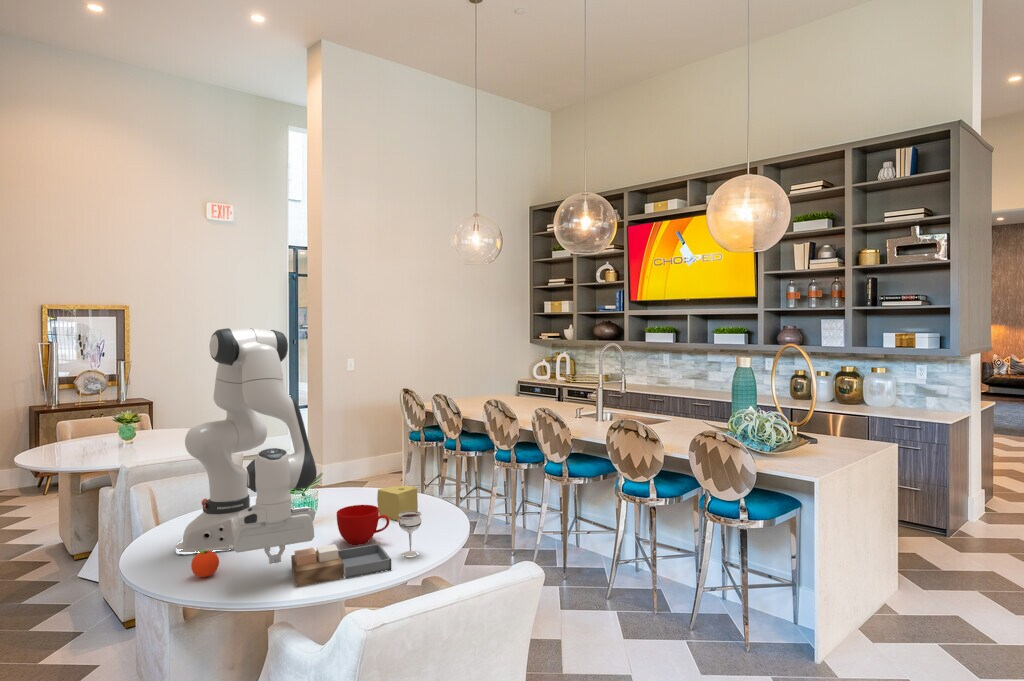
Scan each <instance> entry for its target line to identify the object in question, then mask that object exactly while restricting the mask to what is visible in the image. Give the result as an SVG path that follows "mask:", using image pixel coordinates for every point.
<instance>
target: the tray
mask: <svg viewBox="0 0 1024 681" xmlns="http://www.w3.org/2000/svg"><path fill="white" fill-rule="evenodd" d="M338 554H339V556H340V558H341V560H342V561H343V563H344V578H345V579H350V578H349V577H351V578H356V577H360V576H361V575H362V576H366V575H367V576H368V575H372V574H376V572H378V573H382V572H381V571H383V572H386V571H385V570H388V571H392V570H391V569H392V558H391V557H390V556H389V555H388V553H387V552H386V550H385V549H384V547H382V545H381V544H380V543H375V544H369V545H364V546H363V545H361V546H356V547H351V548H350V547H349V548H345V549H338ZM371 573H372V574H371ZM355 576H356V577H355Z"/></svg>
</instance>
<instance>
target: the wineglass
mask: <svg viewBox="0 0 1024 681" xmlns="http://www.w3.org/2000/svg"><path fill="white" fill-rule="evenodd" d="M421 515H422V513H421V512H420V511H418V510H417V511H406V512H402V513H400V514H399V517H400V518H399V521H397V522H398V526H399V528H400V529H401V530H402V531H404V532H406V533H407V534H408V541H409V542H408V543H409V551H406V552H404V554H403V553H402V554H403V555H404V556H414V555H417V553H416V552H417V551H415V550H412V536H413V535H412V534H413V533H414V532H415V531H416V530H418V529H419V527H420V526H421V525H422V517H421Z"/></svg>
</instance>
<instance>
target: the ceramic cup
mask: <svg viewBox="0 0 1024 681" xmlns="http://www.w3.org/2000/svg"><path fill="white" fill-rule="evenodd" d="M336 511H337V512H336V521H337V522H336V525H337V529H338V531H339V534H340V536H341V538H342V539H343V541H345V542H346V543H347V545H349V546H356V547H357V546H363V545H366V544H368V543H369V542H370V541H371V539H372V538H373V537H374V535H375V534H378V533H380V532H383V531H385V530H387V528H388V527H389V525H390V519H389V518H388V516H386V515H381V516H380V515H379V508H378V506H375V505H373V504H354V505H349V506H345V507H342V508H340V509H338V510H336ZM382 518H383V519H385V520H386V524H385V525H384V527H382V528H379V529H378V525H379V520H380V519H382Z"/></svg>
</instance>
